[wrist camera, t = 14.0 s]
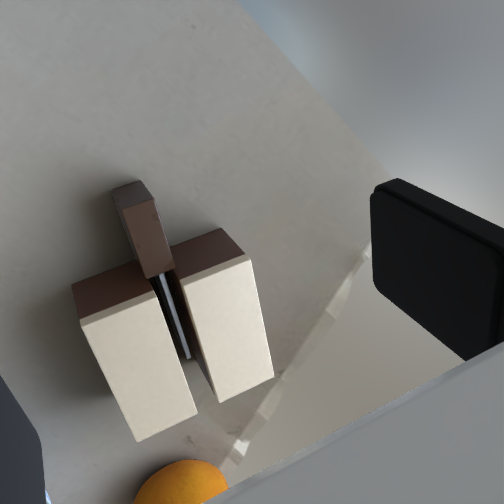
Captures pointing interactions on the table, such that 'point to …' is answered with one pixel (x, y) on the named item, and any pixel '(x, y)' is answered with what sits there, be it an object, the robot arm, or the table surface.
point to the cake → (158, 337)
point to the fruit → (182, 484)
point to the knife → (149, 244)
